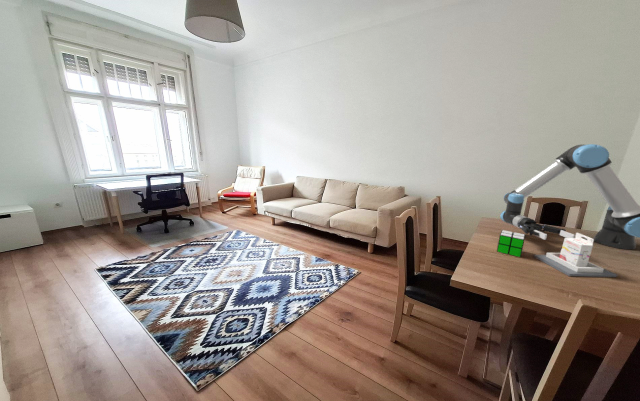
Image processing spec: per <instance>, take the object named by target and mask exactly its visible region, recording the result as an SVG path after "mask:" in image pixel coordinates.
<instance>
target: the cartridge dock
mask: <svg viewBox="0 0 640 401" xmlns="http://www.w3.org/2000/svg"><path fill="white" fill-rule="evenodd" d="M560 253H561V252H546V254H533V257H534V258H535V259H537V260H539V261H540V262H542V263H544V264H546V265H548V266H550V267H552V268H553V269H555V270H557V271H559V272H561V273H562V274H564V275H567V277H586V278H587V277H590V278H591V277H593V278H594V277H596V278H597V277H598V278H599V277H601V278H617V277H618V274H617V273H615V272H612V271H609V270H608V269H605V268H603V267H601V266H599V265H598V264H595V263H592V262H590V261H588V264H587V267H577V266H575V265H573V264H571V263H569V262H567V261H565V260H563V259H561V258H559V257H560Z"/></svg>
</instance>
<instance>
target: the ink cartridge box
mask: <svg viewBox="0 0 640 401" xmlns="http://www.w3.org/2000/svg"><path fill="white" fill-rule="evenodd" d="M594 242H595V241H594V237H593V238H592V237H589V236H588V235H584V234H583V233H580V232H575V237H574V238H566V237H564V239H563V242H562V246H561V247H562V248H561V250H560V252H559V253H560V257H559V258H561V259H563V260H565V261H567V262H569V263H571V264H573V265H575V266H577V267H587V264H588V262H589V260H590V257H591V253H592V251H593V247H594Z"/></svg>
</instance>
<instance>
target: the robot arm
mask: <svg viewBox="0 0 640 401" xmlns="http://www.w3.org/2000/svg"><path fill="white" fill-rule="evenodd" d="M611 165H612V161H611V159H610V152H609V151H608V149H607V148H606V147H604V146H602V145H600V144H593V143H590V144H577V145H574V146H571V147H570V148H568V149H567V150H566V151H563V153H561V154H560V155H559V156H557V157H556V158H555V159H554V160H553V162H552V163H551V164H549V165H548V166H546V167H545V168H544V169H541V171H539V172H537V173H536V174H535V175H534V176H532V177H530V178H529V179H528V180H526V181H525V182H523V183H522V184H520V185H518V187H516V188H515V189H513V190H512V191H511V192H506V193H505V194H504V195H503V201H504V203H506V207H505V210H504V211H502V212H501V213H500V216H499V217H500V219H501V220H502V222H504V223H507V224H509V225H512V226H514V227H517V228H518V229H521V230H522V232H524V234H525V235H528V234H529V236H530V237H532V236H534V237H537V238H540V239H542V240H547V237H548V234H547V233H552V234H556V235H559V236H561V237H564V238H575V236H576V234H574V233H571V232H568V231H566V229H565V228H560V227H556V226H552V225H548V224H545V223H543V224H540V223H537V222H536V220H535V219H532V218H530V217H528V216H525V215H522V209H523V206H524V201H525V198H526V197H528V196H529V195H531V194H532V193H534V192H536V191H537V190H539V189H540V188H543V186H545V185H546V184H547V183H549V182H551V181H552V180H554V179H555V178H557V177H558V176H560V175H561V174H563V173H564V172H566V171H571V170H572V169H574V168H576V169H577V170H578V171H579V173H580V174H582V175H583V174H584V175H587V178H589V179H590V182H591V183H592V184H593V186H594V187H595V188H596V189H597V191H598V192H599V193H600V195H601V196H602V198H603V199H604V200H605V202H606V204H607V205H608V208H607V210H606V213H605V216H604V220H603V222H602V226H601V229H599V231H598V232H597V233H596V234H595V235H594V237H593V239H594V242H596V243H597V244H601V245H603V246H606V247H612V248H616V249H621V250H635V249H636V246H637V244H636V238H640V205H639V204H638V202H637V201H636V200H635V199H634V197H633V195H632V194H631V193H630V192H629V191H628V189H627V188H626V186H625V185H624V183H623V182H622V181H621V179H620V178H619V177H618V176H617V174H616V173H615V172H614V170H613V169H612V167H611ZM544 232H547V233H544Z"/></svg>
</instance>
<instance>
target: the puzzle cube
mask: <svg viewBox="0 0 640 401" xmlns="http://www.w3.org/2000/svg"><path fill="white" fill-rule="evenodd" d="M525 238H526V233H519V232H516V231H514V232H513V231H509V230H505V229H502V230H501V231H500V234H499V238H498V242H497V248H496V252H497V253H501V254H506V255H510V256H513V257H518V258H521V257H522V254H523V253H522V252H523V248H524V245H525V244H524V243H525V240H526V239H525Z"/></svg>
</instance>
